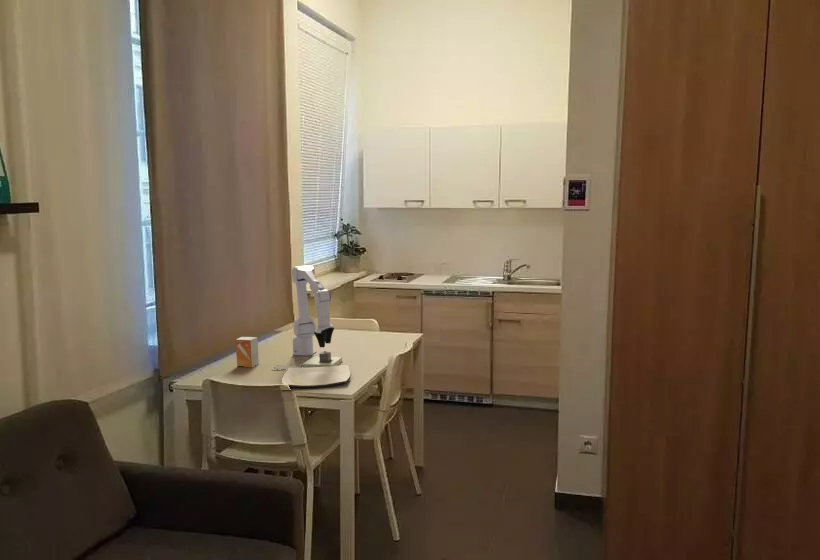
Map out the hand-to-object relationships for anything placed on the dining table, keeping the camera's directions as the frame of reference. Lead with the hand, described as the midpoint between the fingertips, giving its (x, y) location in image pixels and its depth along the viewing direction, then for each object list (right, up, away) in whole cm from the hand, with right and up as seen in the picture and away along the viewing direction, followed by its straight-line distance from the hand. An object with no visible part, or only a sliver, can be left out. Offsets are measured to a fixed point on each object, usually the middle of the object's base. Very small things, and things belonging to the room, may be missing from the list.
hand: (325, 345), depth 311 cm
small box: (-36, -10, +6) cm, 38 cm away
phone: (-17, -11, -2) cm, 20 cm away
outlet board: (-1, -9, +2) cm, 9 cm away
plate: (-1, -13, -21) cm, 25 cm away
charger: (0, -9, +1) cm, 9 cm away
